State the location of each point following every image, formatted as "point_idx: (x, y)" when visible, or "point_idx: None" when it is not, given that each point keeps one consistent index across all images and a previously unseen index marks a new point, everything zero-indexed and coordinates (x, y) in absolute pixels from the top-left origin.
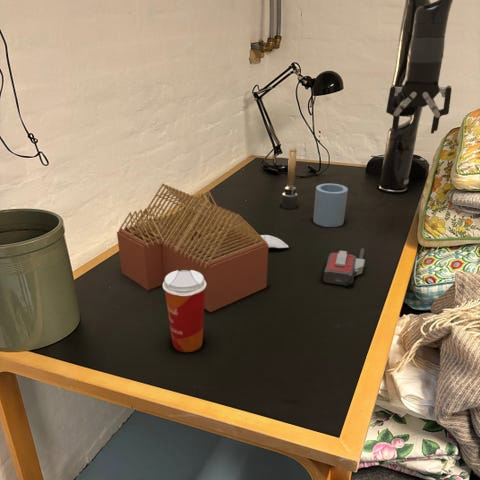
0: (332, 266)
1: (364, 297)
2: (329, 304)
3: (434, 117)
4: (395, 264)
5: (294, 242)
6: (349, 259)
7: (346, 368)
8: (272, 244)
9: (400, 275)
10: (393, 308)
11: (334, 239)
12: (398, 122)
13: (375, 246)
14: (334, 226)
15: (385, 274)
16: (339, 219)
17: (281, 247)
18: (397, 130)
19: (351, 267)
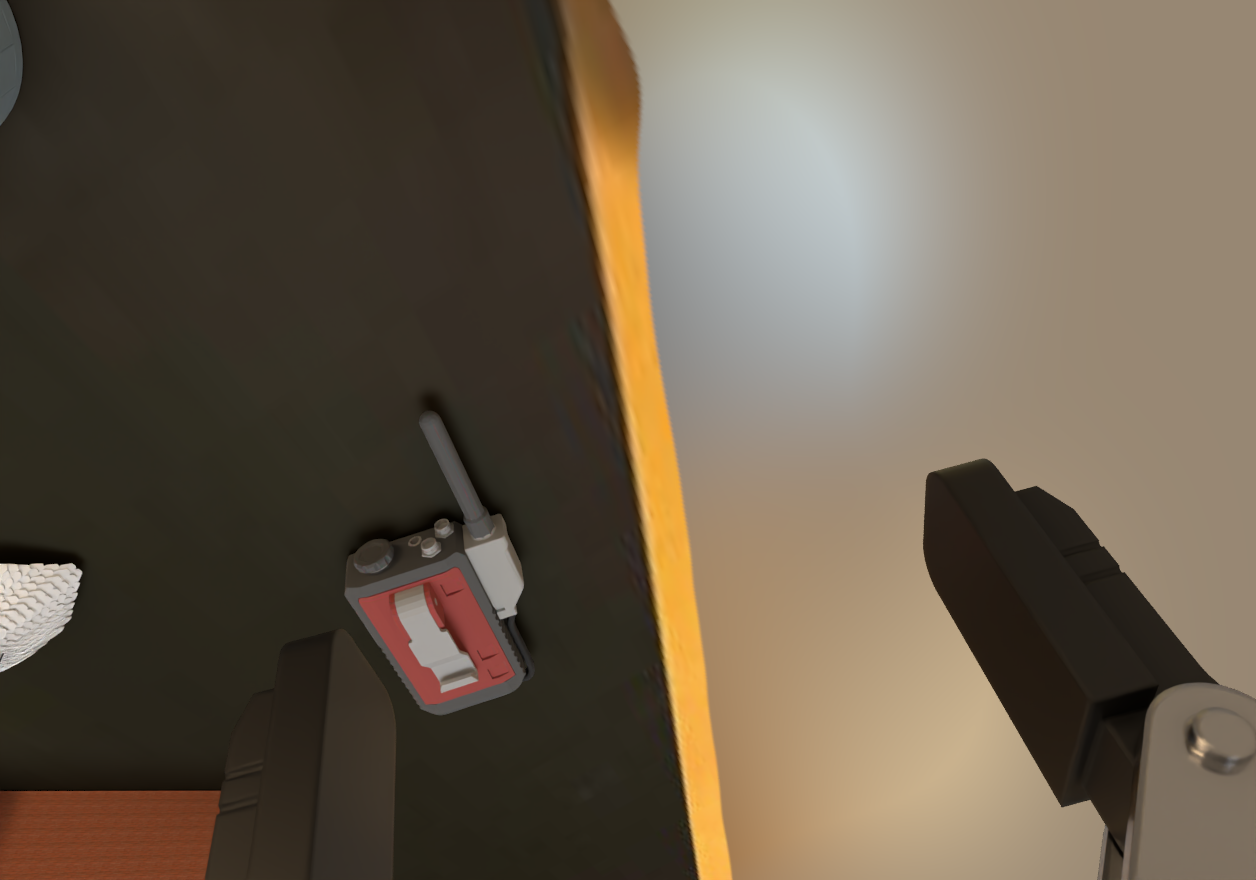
0: (432, 684)
1: (594, 665)
2: (515, 745)
3: (1085, 790)
4: (612, 398)
5: (29, 480)
6: (459, 608)
7: (665, 865)
8: (33, 651)
9: (661, 475)
10: (697, 662)
11: (177, 314)
12: (390, 871)
13: (439, 262)
14: (7, 113)
15: (603, 502)
16: (2, 94)
17: (71, 612)
18: (394, 735)
19: (497, 643)
